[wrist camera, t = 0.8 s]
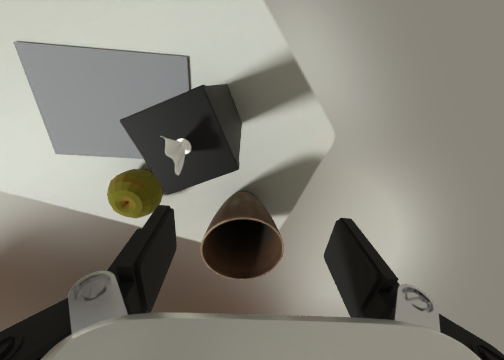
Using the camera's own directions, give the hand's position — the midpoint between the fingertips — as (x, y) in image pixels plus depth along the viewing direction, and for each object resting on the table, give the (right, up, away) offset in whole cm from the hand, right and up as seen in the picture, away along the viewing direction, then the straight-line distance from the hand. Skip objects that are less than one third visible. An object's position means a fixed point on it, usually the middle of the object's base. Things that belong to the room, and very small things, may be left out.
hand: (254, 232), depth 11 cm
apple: (-25, +3, +35) cm, 43 cm away
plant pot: (-2, -3, +39) cm, 39 cm away
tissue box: (-7, +17, +29) cm, 34 cm away
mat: (-27, +17, +28) cm, 42 cm away
